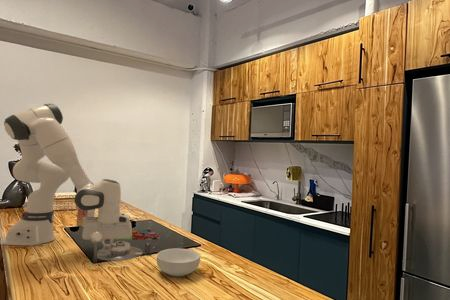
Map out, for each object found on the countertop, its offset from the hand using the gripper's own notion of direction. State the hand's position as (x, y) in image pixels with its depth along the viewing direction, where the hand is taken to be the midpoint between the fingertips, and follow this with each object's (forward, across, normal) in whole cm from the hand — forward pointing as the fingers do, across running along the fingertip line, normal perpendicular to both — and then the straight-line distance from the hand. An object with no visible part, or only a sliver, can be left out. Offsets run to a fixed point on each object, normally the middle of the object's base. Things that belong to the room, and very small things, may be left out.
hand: (106, 249), depth 136 cm
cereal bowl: (+4, +28, -22) cm, 36 cm away
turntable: (+3, +7, 0) cm, 7 cm away
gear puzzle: (+4, +8, +27) cm, 29 cm away
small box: (+4, -17, +56) cm, 59 cm away
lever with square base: (+3, -3, -12) cm, 12 cm away
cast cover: (+2, +6, 0) cm, 6 cm away
